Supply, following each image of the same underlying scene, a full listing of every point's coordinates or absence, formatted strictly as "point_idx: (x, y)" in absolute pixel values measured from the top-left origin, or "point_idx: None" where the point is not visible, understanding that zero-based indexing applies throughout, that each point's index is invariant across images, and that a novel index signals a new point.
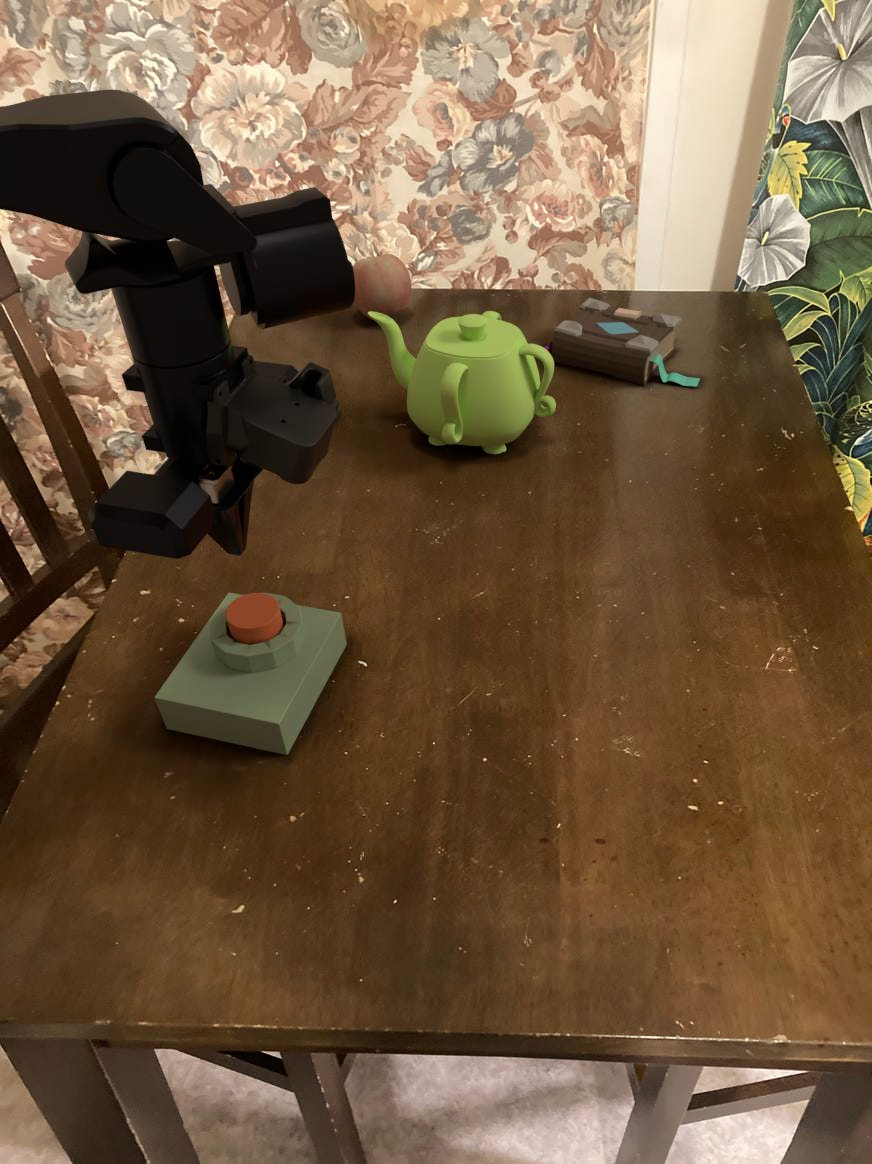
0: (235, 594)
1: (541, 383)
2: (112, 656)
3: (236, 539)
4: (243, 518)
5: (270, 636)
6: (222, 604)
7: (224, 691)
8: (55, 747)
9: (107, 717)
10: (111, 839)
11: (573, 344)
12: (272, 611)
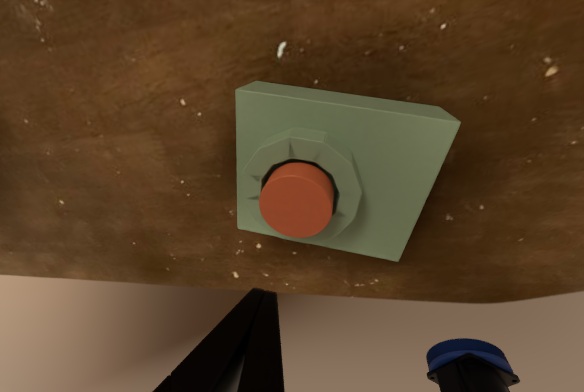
0: (239, 221)
1: None
2: (307, 281)
3: (279, 348)
4: (221, 373)
5: (321, 173)
6: (256, 230)
7: (392, 201)
8: (406, 296)
9: (374, 272)
10: (524, 243)
11: None
12: (293, 183)
